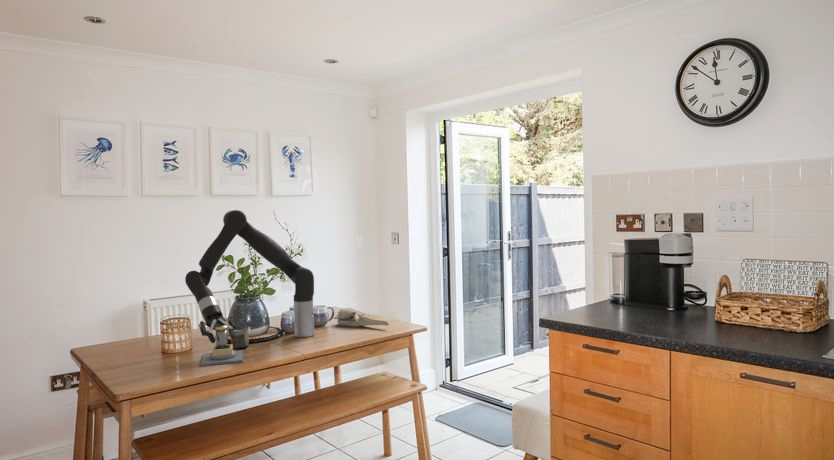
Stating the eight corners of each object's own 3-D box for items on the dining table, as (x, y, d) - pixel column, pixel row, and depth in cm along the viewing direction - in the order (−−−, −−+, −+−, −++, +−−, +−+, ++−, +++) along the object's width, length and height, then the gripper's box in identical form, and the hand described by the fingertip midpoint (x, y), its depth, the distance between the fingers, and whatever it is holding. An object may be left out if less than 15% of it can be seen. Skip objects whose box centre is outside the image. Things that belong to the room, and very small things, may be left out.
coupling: (231, 351, 227) (230, 325, 227) (224, 354, 222) (223, 327, 221) (219, 351, 228) (218, 324, 227) (213, 354, 223) (211, 327, 222)
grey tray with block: (243, 352, 235) (243, 340, 234) (242, 362, 219) (242, 350, 219) (204, 355, 230) (203, 344, 230) (200, 366, 215) (200, 354, 214)
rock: (224, 333, 252) (245, 325, 256) (228, 346, 252) (249, 338, 257) (230, 339, 236) (252, 331, 241) (235, 354, 237) (257, 345, 242)
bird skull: (385, 326, 268) (383, 306, 269) (334, 329, 284) (332, 310, 284) (394, 323, 276) (392, 304, 276) (344, 325, 291) (341, 307, 292)
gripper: (196, 306, 224) (210, 338, 216) (228, 301, 234) (242, 331, 227) (191, 317, 227) (204, 348, 220) (223, 312, 238) (236, 341, 230)
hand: (223, 340), depth 223 cm, fingers open, 8 cm apart
